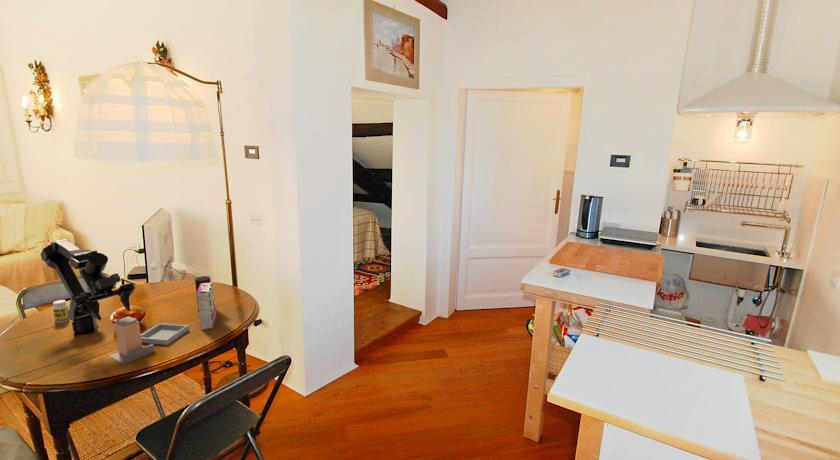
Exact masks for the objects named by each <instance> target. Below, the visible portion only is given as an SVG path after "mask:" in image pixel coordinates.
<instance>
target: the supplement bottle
mask: <svg viewBox="0 0 840 460" xmlns="http://www.w3.org/2000/svg"><path fill="white" fill-rule="evenodd" d="M52 306H53V307H52V313H53V317H54V319H53V320H54V322H55V323H58V322H59V323H64V322H67V321H69V320H70V319H69V318H68V315H67V313H68V311H69V305H68V304H67V301H66V300H65V299H60V300H59V299H58V300H55V301H53V303H52Z"/></svg>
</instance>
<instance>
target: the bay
mask: <svg viewBox="0 0 840 460" xmlns="http://www.w3.org/2000/svg"><path fill="white" fill-rule="evenodd" d="M142 347H143V348H140V349H138V350H135V351H133V352H130V353H128V354H125V355H123V356H122V355H120V354H119V351H118V352H115V353H113V354H110V355H109V357H110V358H112V359H115V361H118V362H120V363H121V364H123V365H125V364H128V363H130V362H132V361H136V360H137V359H140V358H143V357H145V356H147V355H149V354H151V353H154V352H155V344H147V345H146V346H144V345H142Z"/></svg>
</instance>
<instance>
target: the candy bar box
mask: <svg viewBox="0 0 840 460" xmlns="http://www.w3.org/2000/svg"><path fill="white" fill-rule="evenodd" d="M213 285H214V284H213V282H211V281H210V283H201V284H200V286H199V289H198V291H197V294H196V300H197V299H198V304H197V309H198V308H199V311H198V315H199V324H200V330H201V331H203V330H204V331H205V330H211V329H214V328H215V324H216V320H217V312H216V311H217V310H216V302H215V294H214V286H213Z"/></svg>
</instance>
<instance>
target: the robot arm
mask: <svg viewBox="0 0 840 460" xmlns="http://www.w3.org/2000/svg"><path fill="white" fill-rule="evenodd" d="M40 257H41V260H42V261H43V262H44V263H45V264H46V266H47V267H49V268H51V269H53V270H55V271H56V273H57V275H58V277H59V279H60V281H61V282H62V284H63V286H64V288H65V290H66V291H67V293H68V295H69V297H70V302H69V305H68V310H69V311H68V313H67V315H68V318H69V320H70V321H72V322H71V325H72V330H73V336H79V335H86V334H94V333H95V332H96V331H97V330H98V328H99V324H98V323H97V321H99V322H100V321H102V317H101V315H100V302H99V301H101V300H103V299H104V300H105V299H108V298H111V297H114V296H118V297H120V298H119V300H120V302H121V304H122V305H123V307H124V308H125V309H126V311H127V312H130V311H131V307H130V306H131V305H130V297H131V295H133V293H134V291H135V289H136V286H135V284H134V283H132V282H128V283H124V284H121V285H120V286H119V288H118V289H115V290H114V288H115V286H116V285H117V283H120V281H121V280H122V279H121V277H120V275H119V273H118V272H117V273H112V274H110V276H109V277H107V276H105V275H104V274H103V272H104V270H105V268H106V266H107V264H108V261H109V259H108V258H109V257H108V256H107V255H105V254H104V253H102V252H98V250H90V249H81V248H79V247H78V246H77V245H75V244H73V243H72V242H71V241H70V240H69V239H68V238H67V239H65V238H63V239H59V240H58V239H57V240H53V241H51V243H50V244H48V245H47V246H46V247H45V246H44V248H42V250H41V252H40ZM73 269H74V270H79V269H81V271H80V273H79V274H80V278H81V279H83V281H84V283H85V285H86V287H87V288H86V289H87V291H88V292H87V291H85V289H84V287H83V285H82V283H81V282H80V280H79V278H78V276H77V275H76V273H75V272H74V270H73Z"/></svg>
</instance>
